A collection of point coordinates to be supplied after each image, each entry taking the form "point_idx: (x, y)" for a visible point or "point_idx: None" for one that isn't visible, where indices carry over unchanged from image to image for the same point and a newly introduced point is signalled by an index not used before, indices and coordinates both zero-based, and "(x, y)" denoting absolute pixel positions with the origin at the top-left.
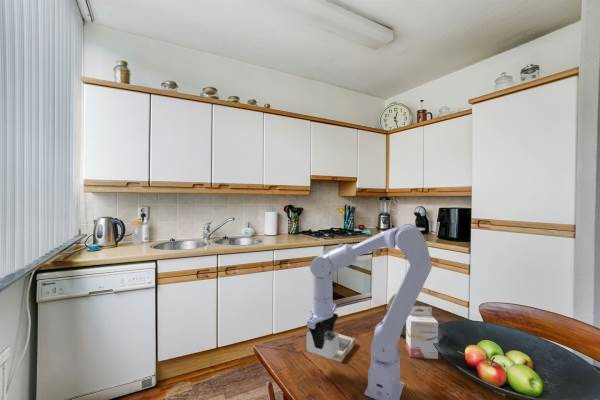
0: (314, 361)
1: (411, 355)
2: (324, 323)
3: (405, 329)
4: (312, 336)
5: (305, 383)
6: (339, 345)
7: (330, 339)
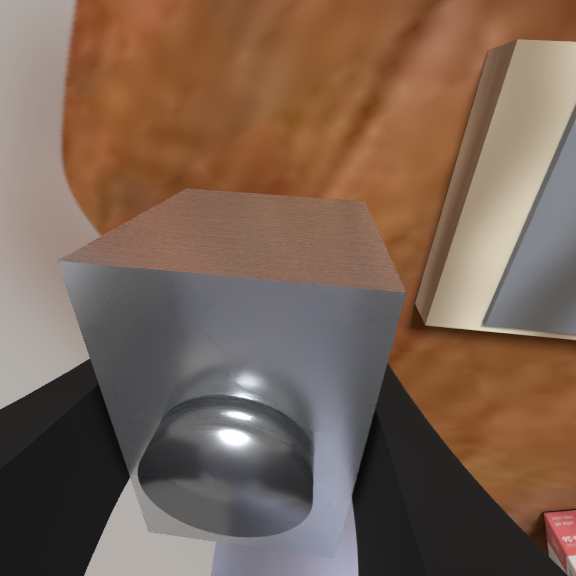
0: (363, 154)
1: (547, 522)
2: (390, 549)
3: None
4: (25, 402)
5: (155, 200)
6: (552, 291)
7: (168, 525)
